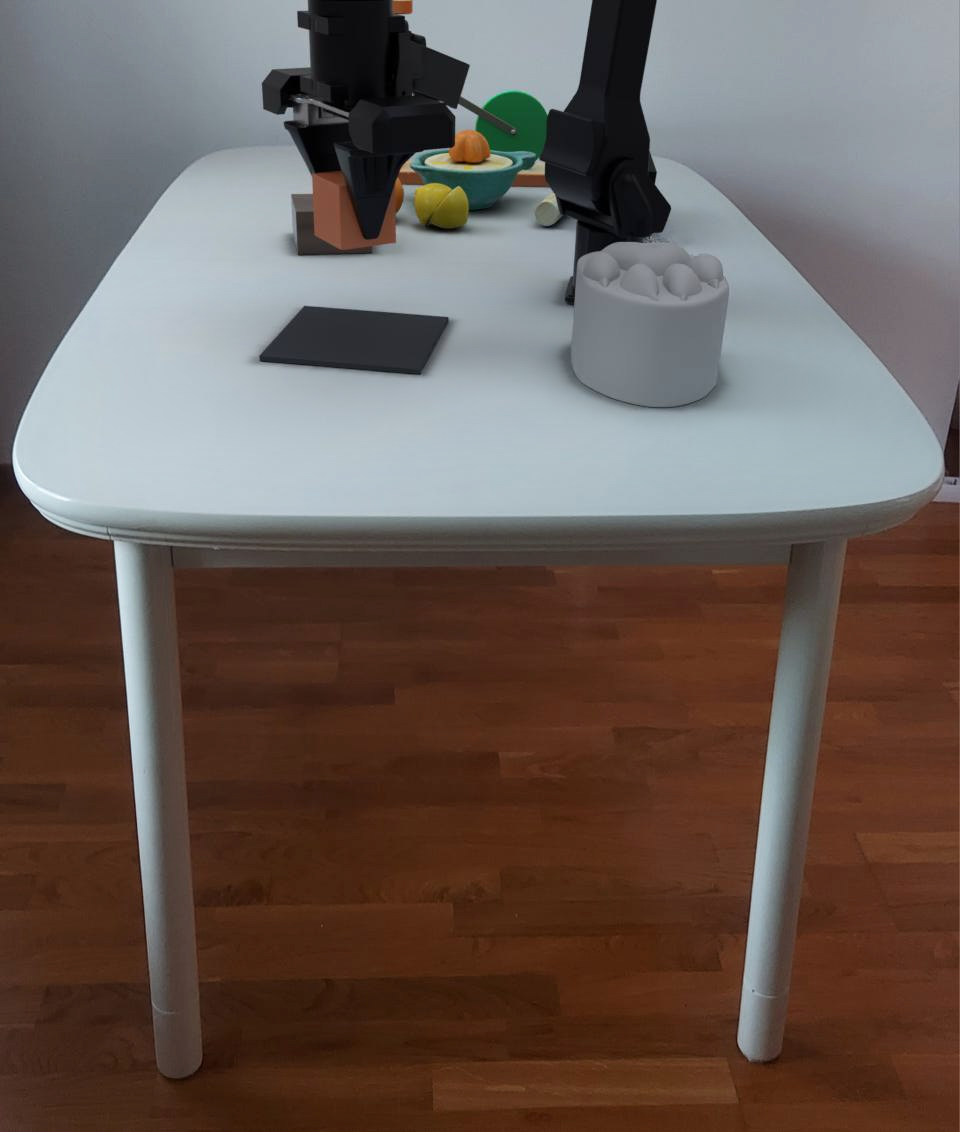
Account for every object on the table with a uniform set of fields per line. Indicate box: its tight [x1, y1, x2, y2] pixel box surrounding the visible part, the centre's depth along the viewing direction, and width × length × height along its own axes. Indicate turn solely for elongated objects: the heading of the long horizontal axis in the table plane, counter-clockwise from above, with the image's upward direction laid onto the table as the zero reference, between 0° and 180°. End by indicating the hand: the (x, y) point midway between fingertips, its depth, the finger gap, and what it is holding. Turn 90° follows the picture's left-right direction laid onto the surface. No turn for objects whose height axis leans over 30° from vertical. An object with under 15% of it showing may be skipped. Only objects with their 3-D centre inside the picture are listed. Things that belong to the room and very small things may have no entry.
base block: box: [290, 193, 373, 256], centre depth 113 cm, size 7×7×4 cm
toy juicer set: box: [395, 129, 563, 230], centre depth 124 cm, size 29×18×8 cm, turn 93°
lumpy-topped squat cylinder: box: [570, 241, 730, 408], centre depth 84 cm, size 10×13×9 cm
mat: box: [258, 305, 450, 375], centre depth 90 cm, size 12×12×1 cm
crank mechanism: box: [393, 0, 550, 188], centre depth 135 cm, size 25×7×19 cm, turn 93°
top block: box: [311, 171, 397, 250], centre depth 86 cm, size 4×4×4 cm
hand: (356, 230), depth 87 cm, fingers closed on top block, 4 cm apart
